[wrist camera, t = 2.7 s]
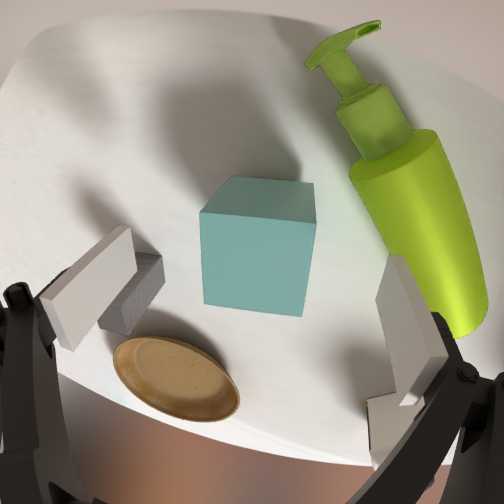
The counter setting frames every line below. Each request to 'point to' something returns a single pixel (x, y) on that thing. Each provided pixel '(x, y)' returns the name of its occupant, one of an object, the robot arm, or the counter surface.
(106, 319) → the post grey
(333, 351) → the counter surface
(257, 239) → the teal foam cube
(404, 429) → the medicine bottle
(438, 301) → the soap dispenser
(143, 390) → the plant saucer
